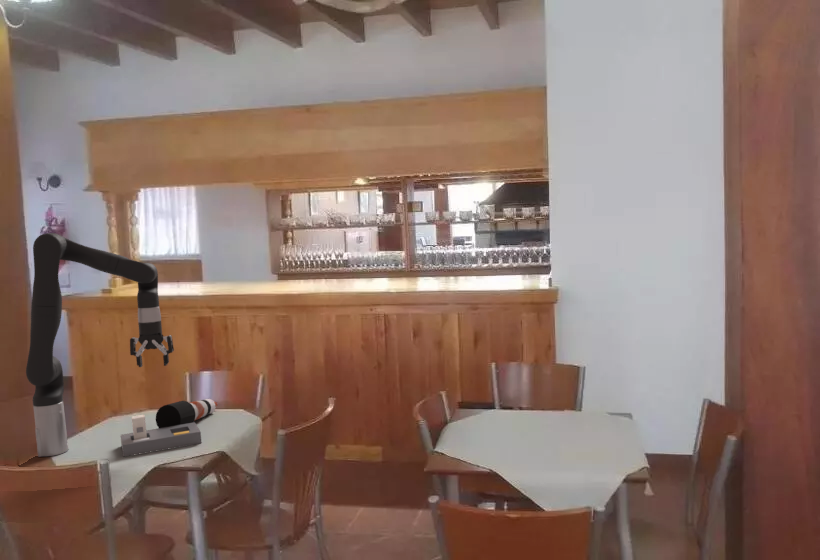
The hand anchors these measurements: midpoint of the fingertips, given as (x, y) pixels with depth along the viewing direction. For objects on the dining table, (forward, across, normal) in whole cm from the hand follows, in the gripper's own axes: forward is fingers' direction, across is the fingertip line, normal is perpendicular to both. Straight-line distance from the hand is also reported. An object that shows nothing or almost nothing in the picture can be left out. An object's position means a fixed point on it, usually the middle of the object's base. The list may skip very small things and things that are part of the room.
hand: (153, 366), depth 257 cm
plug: (+26, -4, -8) cm, 28 cm away
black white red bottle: (+27, +8, +21) cm, 35 cm away
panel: (+26, +2, -6) cm, 27 cm away
